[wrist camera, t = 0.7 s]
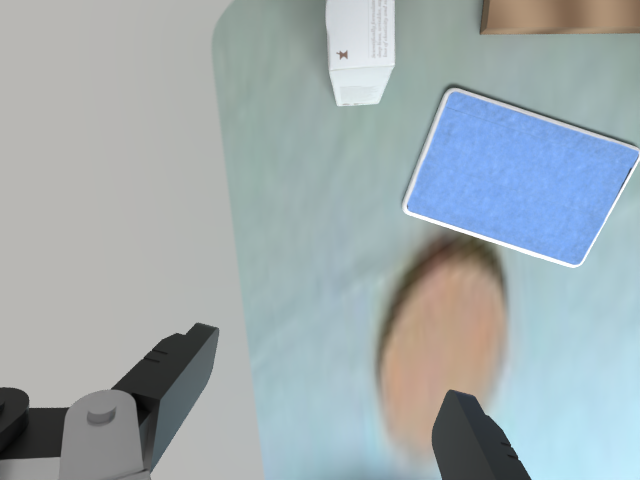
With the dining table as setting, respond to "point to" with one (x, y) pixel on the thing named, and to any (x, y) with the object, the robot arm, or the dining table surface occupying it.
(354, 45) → the skincare box
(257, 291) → the dining table surface
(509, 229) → the tablet computer
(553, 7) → the walnut board
